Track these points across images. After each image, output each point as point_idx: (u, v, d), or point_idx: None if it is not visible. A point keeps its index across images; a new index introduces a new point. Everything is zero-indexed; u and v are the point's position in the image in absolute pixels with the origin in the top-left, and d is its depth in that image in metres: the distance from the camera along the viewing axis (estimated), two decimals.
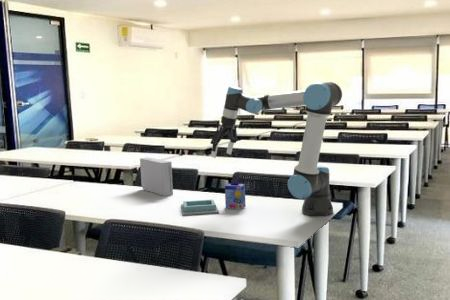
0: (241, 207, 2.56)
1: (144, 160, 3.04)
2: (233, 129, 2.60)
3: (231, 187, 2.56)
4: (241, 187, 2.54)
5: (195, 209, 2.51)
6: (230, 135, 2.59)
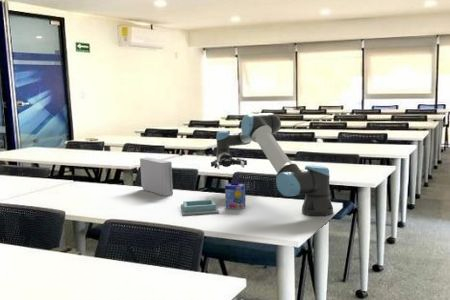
0: (241, 207, 2.56)
1: (144, 160, 3.04)
2: None
3: (231, 187, 2.56)
4: (241, 187, 2.54)
5: (195, 209, 2.51)
6: (235, 161, 2.78)
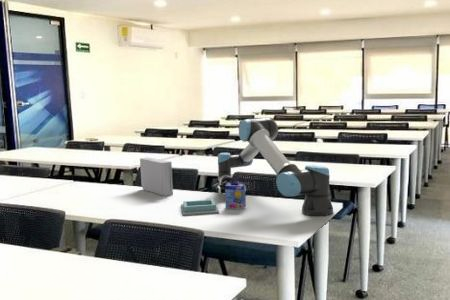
0: (241, 207, 2.56)
1: (144, 160, 3.04)
2: (239, 183, 2.80)
3: (231, 187, 2.56)
4: (241, 187, 2.54)
5: (195, 209, 2.51)
6: None
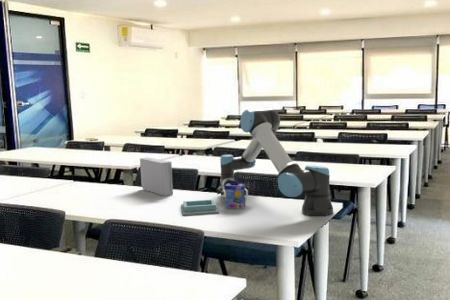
0: (241, 207, 2.56)
1: (144, 160, 3.04)
2: None
3: (231, 187, 2.56)
4: (241, 187, 2.54)
5: (195, 209, 2.51)
6: None
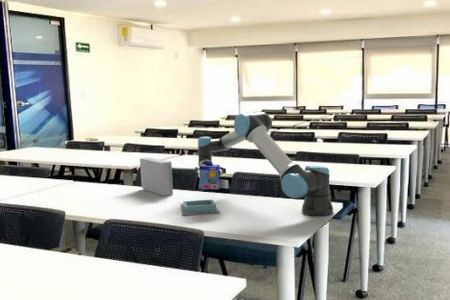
0: (215, 188, 2.55)
1: (144, 160, 3.04)
2: None
3: (205, 167, 2.54)
4: (215, 167, 2.53)
5: (195, 209, 2.51)
6: None
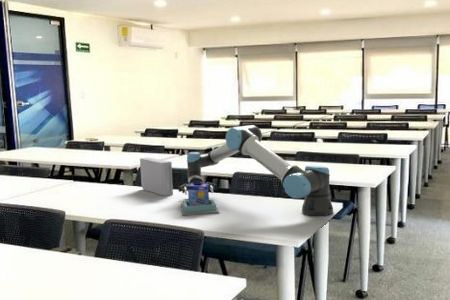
0: None
1: (144, 160, 3.04)
2: None
3: (194, 187, 2.53)
4: (204, 187, 2.52)
5: (195, 209, 2.51)
6: None
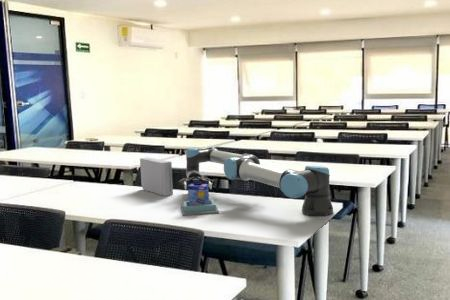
0: None
1: (144, 160, 3.04)
2: (206, 180, 2.80)
3: (194, 187, 2.53)
4: (204, 187, 2.52)
5: (195, 209, 2.51)
6: (203, 181, 2.76)
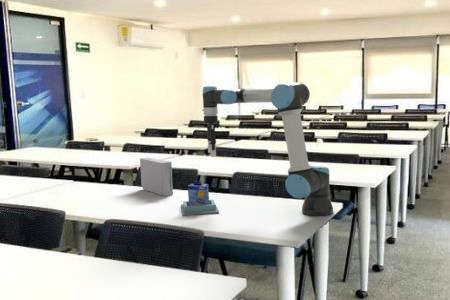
0: None
1: (144, 160, 3.04)
2: None
3: (194, 187, 2.53)
4: (204, 187, 2.52)
5: (195, 209, 2.51)
6: None
